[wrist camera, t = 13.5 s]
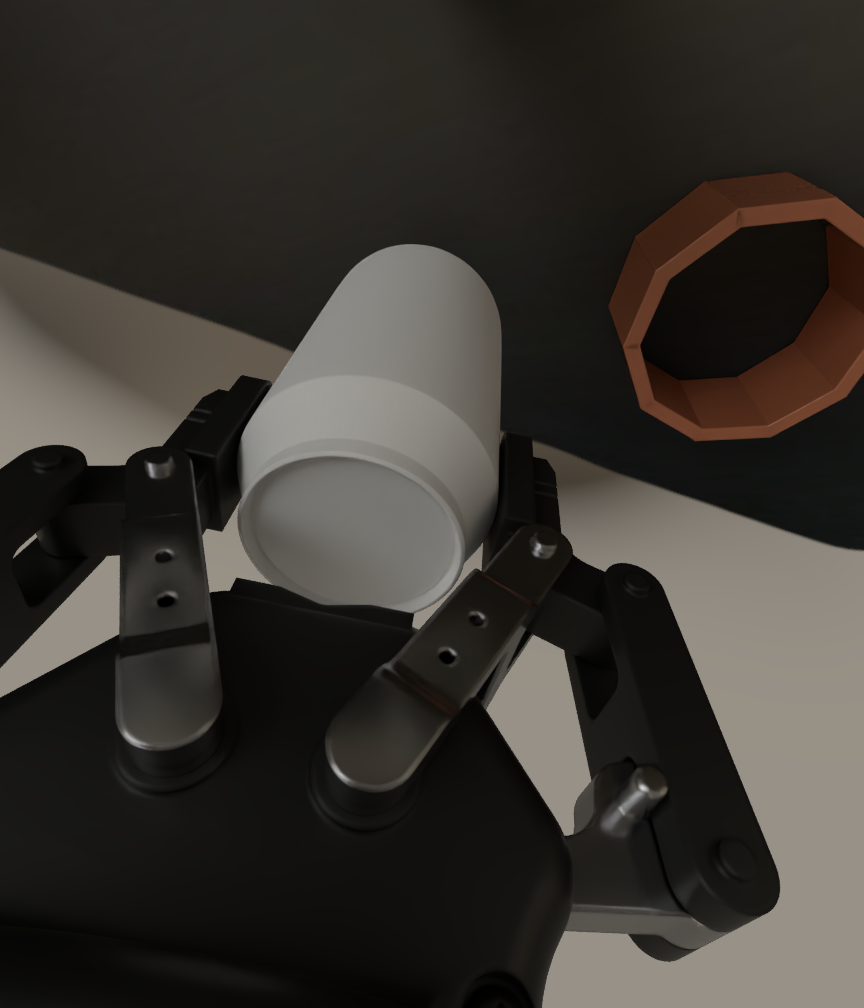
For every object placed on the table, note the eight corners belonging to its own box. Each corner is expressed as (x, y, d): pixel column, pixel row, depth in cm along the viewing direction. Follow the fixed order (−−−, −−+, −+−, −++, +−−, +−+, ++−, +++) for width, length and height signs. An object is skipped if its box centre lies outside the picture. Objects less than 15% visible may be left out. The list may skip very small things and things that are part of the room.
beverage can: (528, 268, 20) (545, 478, 11) (471, 416, 24) (447, 663, 14) (353, 209, 19) (209, 378, 10) (324, 372, 23) (202, 600, 14)
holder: (582, 371, 32) (592, 419, 28) (670, 143, 25) (700, 165, 21) (763, 411, 32) (797, 463, 28) (901, 198, 25) (972, 229, 21)
